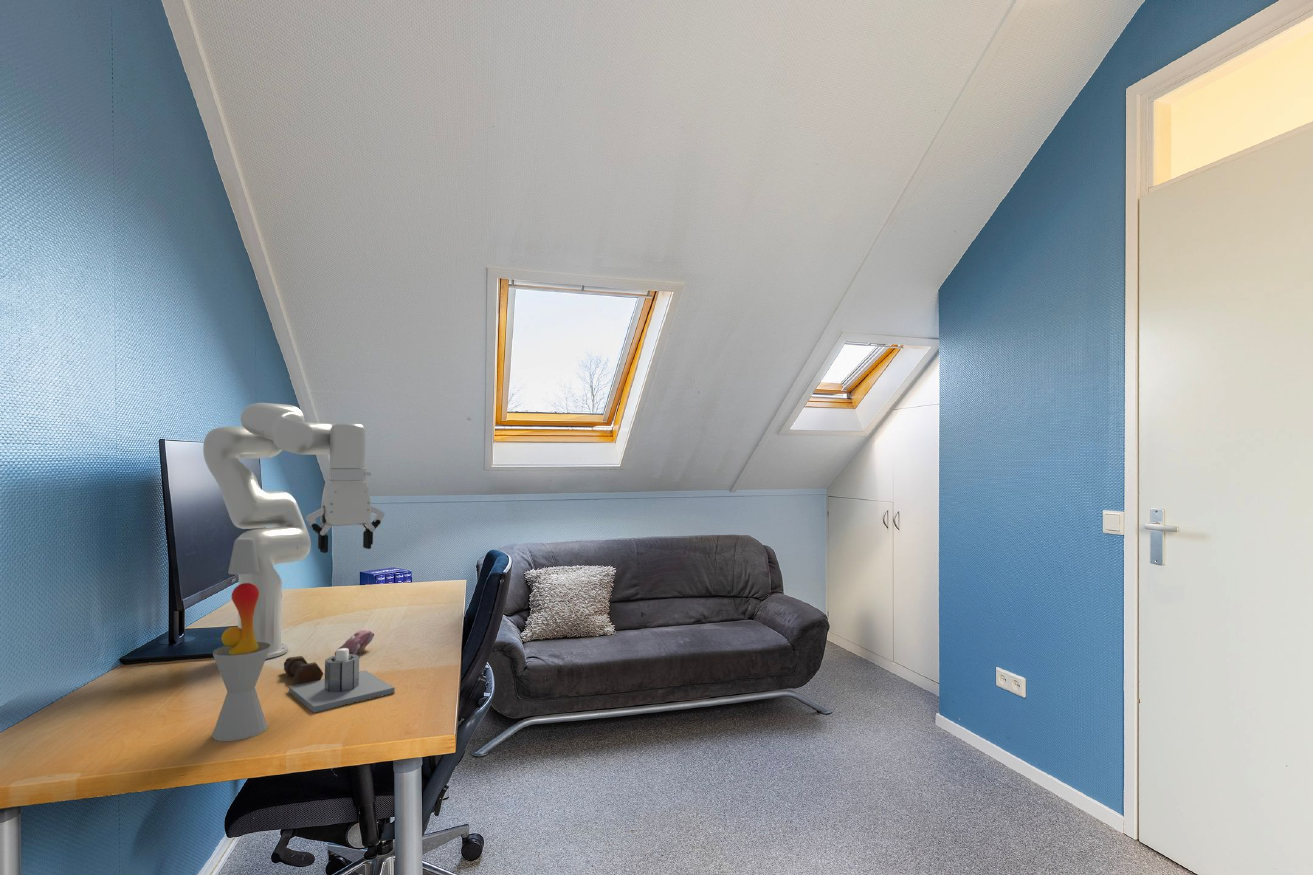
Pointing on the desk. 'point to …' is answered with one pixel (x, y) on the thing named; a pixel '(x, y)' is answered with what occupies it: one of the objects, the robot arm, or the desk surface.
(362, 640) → the pink animal figurine
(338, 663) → the collar
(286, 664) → the bolt
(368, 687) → the post stand
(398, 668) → the desk surface
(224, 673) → the lava lamp
